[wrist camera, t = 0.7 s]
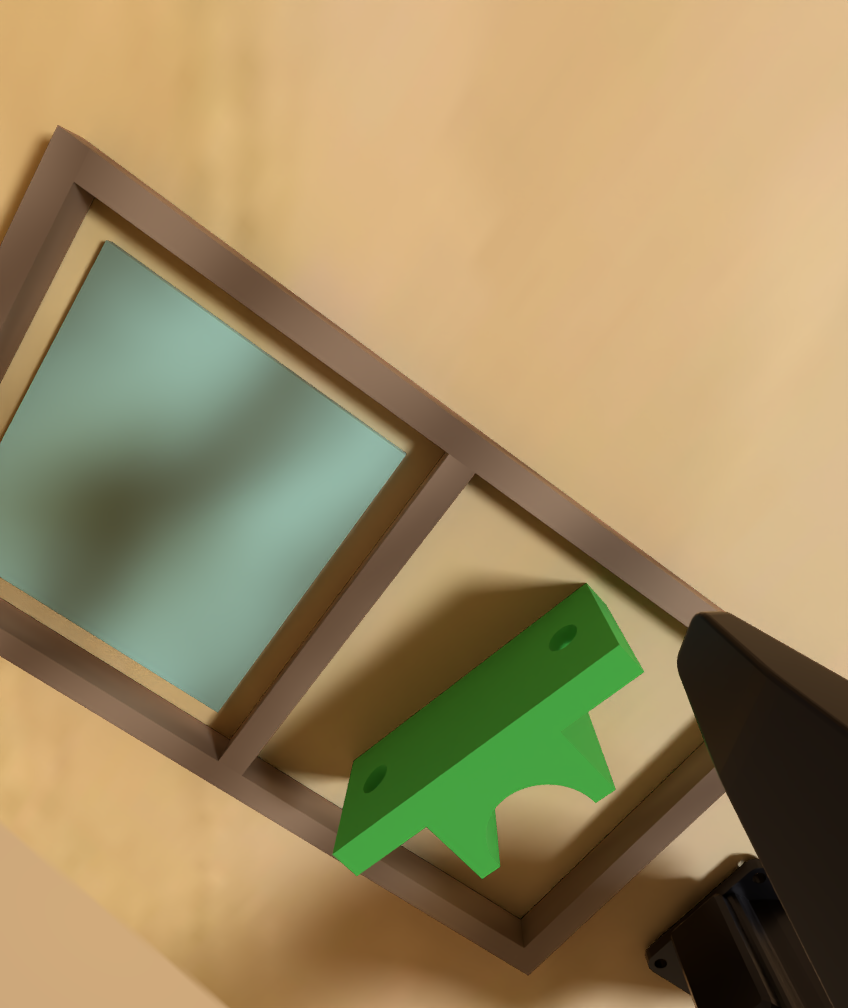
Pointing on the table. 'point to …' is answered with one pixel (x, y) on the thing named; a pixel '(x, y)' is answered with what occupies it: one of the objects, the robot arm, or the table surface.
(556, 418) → the table surface
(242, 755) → the sorting frame
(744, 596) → the table surface
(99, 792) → the table surface
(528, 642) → the pipe clamp
